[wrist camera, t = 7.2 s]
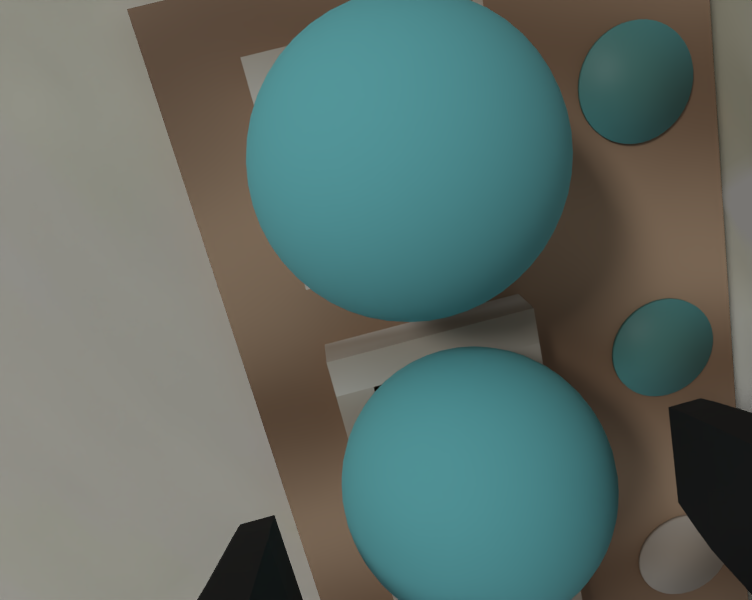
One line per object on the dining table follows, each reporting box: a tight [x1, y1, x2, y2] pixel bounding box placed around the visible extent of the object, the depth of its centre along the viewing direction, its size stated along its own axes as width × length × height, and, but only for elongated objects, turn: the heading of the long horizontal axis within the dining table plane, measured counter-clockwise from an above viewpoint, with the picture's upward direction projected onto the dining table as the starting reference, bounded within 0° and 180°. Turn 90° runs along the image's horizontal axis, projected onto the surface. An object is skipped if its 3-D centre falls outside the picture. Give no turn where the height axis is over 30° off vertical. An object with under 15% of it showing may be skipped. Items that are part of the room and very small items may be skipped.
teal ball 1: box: [246, 0, 573, 322], centre depth 11 cm, size 5×5×5 cm
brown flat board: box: [127, 0, 748, 600], centre depth 15 cm, size 19×11×2 cm, turn 13°
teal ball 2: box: [342, 346, 619, 600], centre depth 12 cm, size 5×5×5 cm
